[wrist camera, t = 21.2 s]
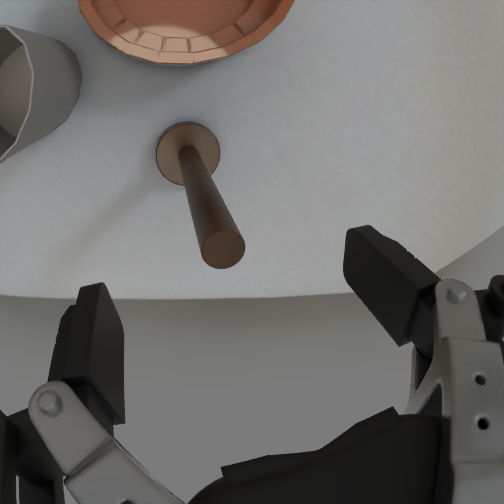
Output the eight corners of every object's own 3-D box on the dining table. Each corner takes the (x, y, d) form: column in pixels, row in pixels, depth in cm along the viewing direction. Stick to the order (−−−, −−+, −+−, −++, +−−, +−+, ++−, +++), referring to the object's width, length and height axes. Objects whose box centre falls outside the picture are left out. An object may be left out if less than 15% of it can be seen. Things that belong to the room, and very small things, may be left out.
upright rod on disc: (147, 170, 24) (137, 290, 11) (169, 113, 22) (181, 162, 9) (203, 187, 26) (255, 314, 13) (226, 133, 25) (312, 209, 11)
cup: (-16, 71, 15) (-87, 80, 7) (65, 21, 16) (15, -6, 7) (13, 155, 20) (-48, 199, 11) (93, 111, 20) (53, 130, 12)
